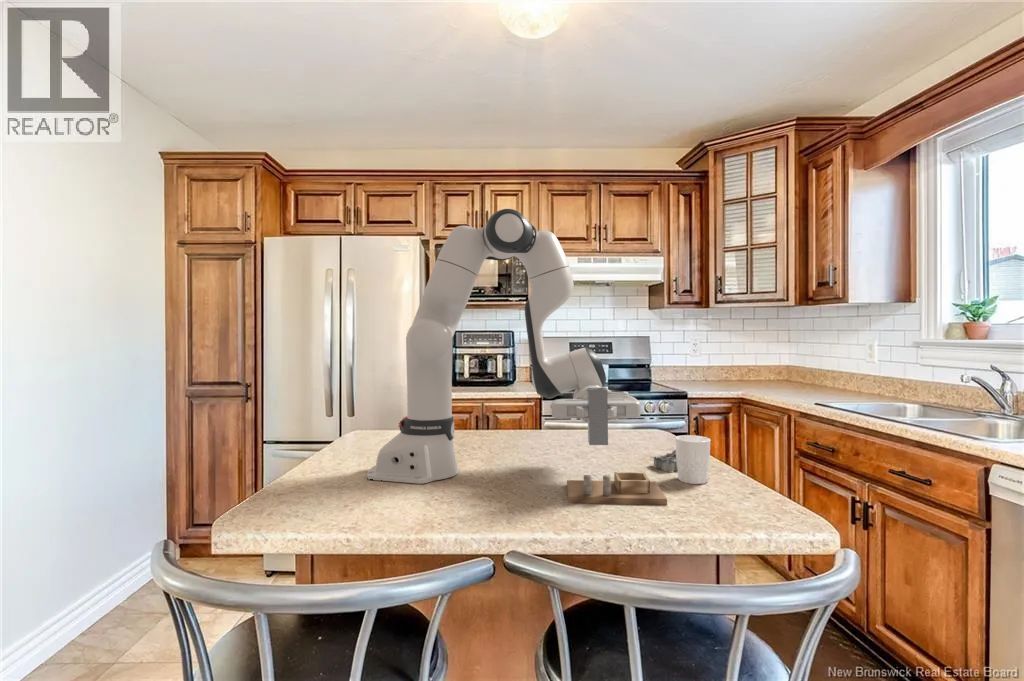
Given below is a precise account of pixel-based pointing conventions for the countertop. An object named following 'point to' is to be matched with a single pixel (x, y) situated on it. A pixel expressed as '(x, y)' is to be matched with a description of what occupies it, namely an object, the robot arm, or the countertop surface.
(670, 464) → the egg carton
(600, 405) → the grey tall block
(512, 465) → the countertop surface
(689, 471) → the white cup
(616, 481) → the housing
